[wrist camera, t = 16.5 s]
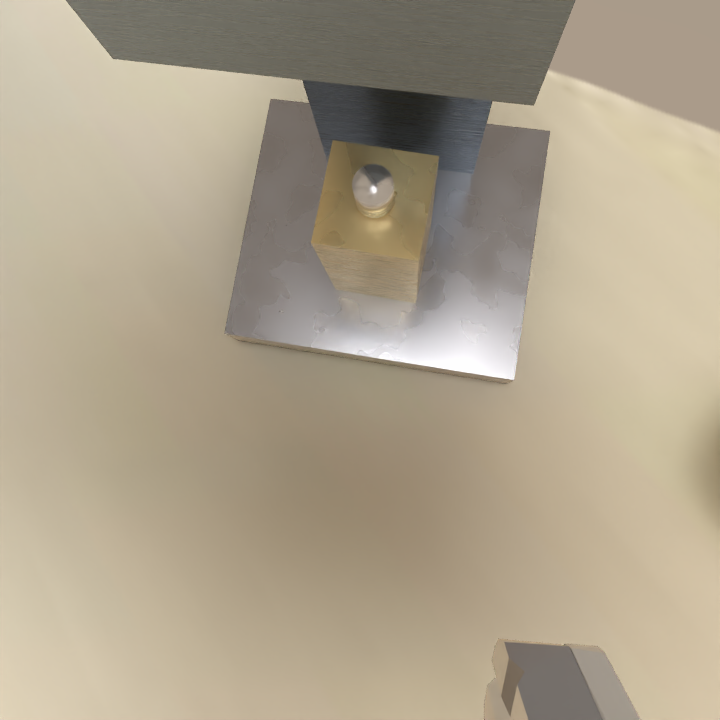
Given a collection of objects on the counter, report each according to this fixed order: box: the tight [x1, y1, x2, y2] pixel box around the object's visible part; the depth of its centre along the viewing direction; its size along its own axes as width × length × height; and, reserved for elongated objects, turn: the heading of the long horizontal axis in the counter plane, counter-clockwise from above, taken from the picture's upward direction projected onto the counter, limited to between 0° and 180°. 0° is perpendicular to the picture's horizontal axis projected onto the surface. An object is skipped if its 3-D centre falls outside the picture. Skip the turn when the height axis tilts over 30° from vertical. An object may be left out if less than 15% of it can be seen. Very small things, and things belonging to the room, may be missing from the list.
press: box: [66, 0, 575, 383], centre depth 21 cm, size 16×14×26 cm
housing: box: [311, 140, 439, 303], centre depth 26 cm, size 4×4×10 cm
